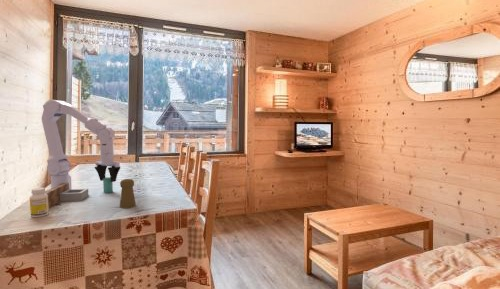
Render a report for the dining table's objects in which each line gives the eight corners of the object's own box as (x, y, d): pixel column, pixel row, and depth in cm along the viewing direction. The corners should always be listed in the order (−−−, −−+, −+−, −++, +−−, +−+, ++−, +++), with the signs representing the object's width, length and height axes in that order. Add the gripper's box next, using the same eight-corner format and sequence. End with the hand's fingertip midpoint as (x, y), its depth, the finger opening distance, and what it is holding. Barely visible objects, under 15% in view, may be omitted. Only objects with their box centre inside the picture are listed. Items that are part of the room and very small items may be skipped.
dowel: (104, 191, 143) (104, 177, 143) (113, 191, 144) (113, 177, 144) (102, 193, 139) (102, 179, 139) (111, 193, 140) (111, 178, 140)
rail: (63, 195, 135) (62, 182, 135) (69, 195, 136) (68, 182, 135) (39, 209, 114) (39, 194, 113) (47, 209, 114) (46, 193, 114)
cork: (130, 208, 115) (129, 181, 114) (116, 207, 116) (115, 180, 115) (138, 204, 121) (138, 178, 120) (125, 203, 122) (125, 177, 121)
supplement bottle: (36, 213, 109) (35, 187, 108) (52, 212, 109) (50, 187, 109) (27, 217, 104) (25, 190, 103) (43, 217, 104) (41, 190, 103)
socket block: (68, 197, 134) (67, 189, 134) (88, 196, 136) (88, 188, 135) (59, 201, 125) (59, 193, 125) (81, 200, 127) (81, 192, 127)
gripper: (89, 153, 140) (90, 181, 141) (110, 154, 134) (111, 183, 135) (102, 151, 146) (103, 178, 147) (122, 153, 140) (123, 181, 141)
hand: (108, 180), depth 141 cm, fingers open, 7 cm apart
